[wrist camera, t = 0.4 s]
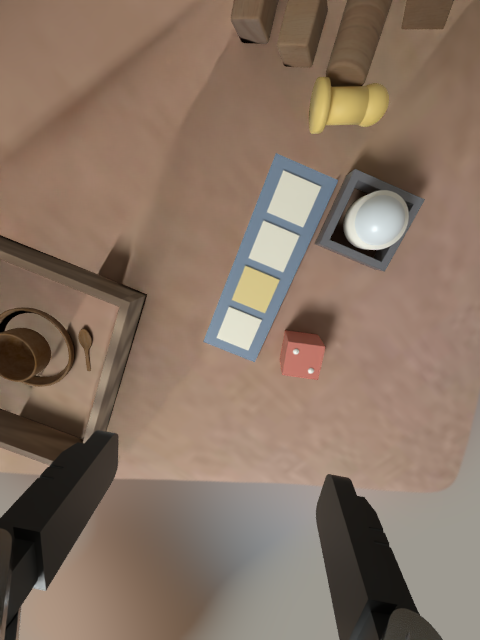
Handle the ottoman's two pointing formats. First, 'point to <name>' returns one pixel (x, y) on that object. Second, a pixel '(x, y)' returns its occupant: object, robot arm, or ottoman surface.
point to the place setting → (33, 350)
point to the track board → (269, 256)
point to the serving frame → (50, 442)
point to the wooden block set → (352, 38)
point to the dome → (376, 220)
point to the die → (301, 355)
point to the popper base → (351, 181)
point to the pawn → (346, 105)
